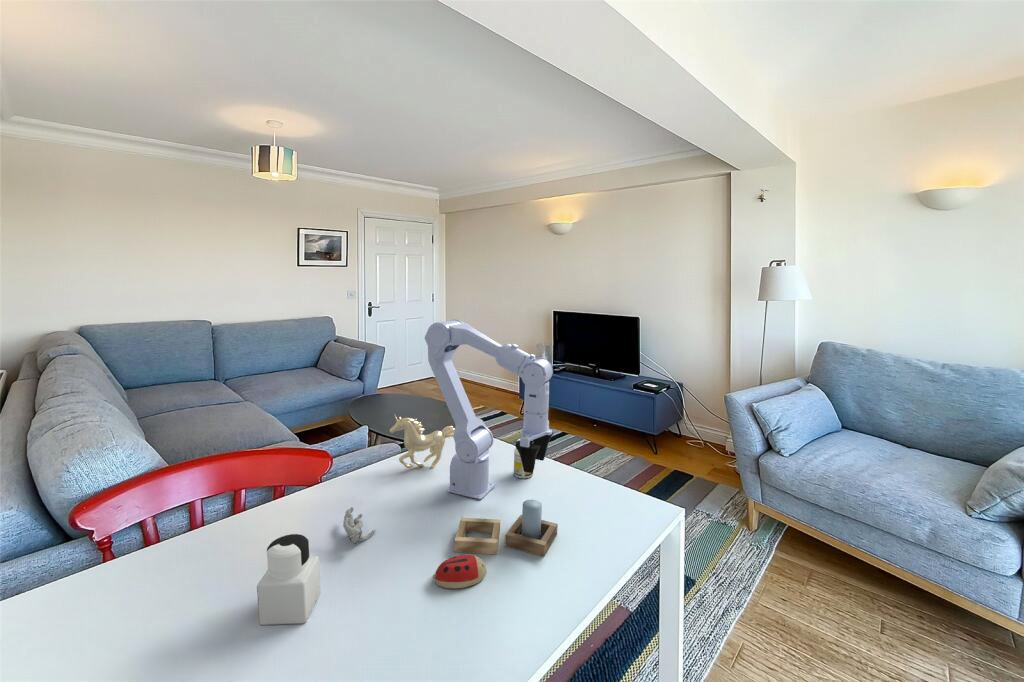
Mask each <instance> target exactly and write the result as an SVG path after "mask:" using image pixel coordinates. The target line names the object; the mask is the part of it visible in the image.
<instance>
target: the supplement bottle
mask: <svg viewBox="0 0 1024 682" xmlns="http://www.w3.org/2000/svg"><path fill="white" fill-rule="evenodd" d="M518 440H520V438H519V439H517V440H516V442H517V441H518ZM513 456H514V457H513V474H514V476H515V477H517V478H519V479H529V478H531V477H533V475H534V472H533V473H528V472H524V470H523V465H522V461H521V457H520V454H519V452H518V450H517V448H516V447H515V448H514V452H513Z"/></svg>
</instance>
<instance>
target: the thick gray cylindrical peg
mask: <svg viewBox="0 0 1024 682" xmlns="http://www.w3.org/2000/svg"><path fill="white" fill-rule="evenodd" d="M542 509H543V504H542V502H540V501H539V500H537V499H526V500H525V501H523V502H522V513H521V515H522V532H521V535H523V536H527V537H530V538H534V539H538V540H541V539H542V538H541V537H542V534H541V520H542V512H543V510H542Z"/></svg>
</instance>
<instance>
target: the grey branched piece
mask: <svg viewBox="0 0 1024 682" xmlns="http://www.w3.org/2000/svg"><path fill="white" fill-rule="evenodd" d="M353 511H354V507H353V506H352V507H350V508H348V509H347V510H346V511H345V515H344V517H343V526H342V527H343V528H344V531H345V532H346V534H347V535H348V538H346V540H347V541H349V542H352V544H353V545H354V547H356V546H357V545H358V544H359V542H365V541H367V540H368V539H370V538H371V537H372V536H373V535H374V534H375V533H376V532H377V529H374V528H373V529H372V530H371V532H369V533H367V534H366V535H364V536H363V531H362V528H363V526H364V522H363V520H361V519H362V518H363V514H362V513H360V514H358V515H357V517H356V518H354V514H352V513H353Z"/></svg>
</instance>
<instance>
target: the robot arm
mask: <svg viewBox="0 0 1024 682" xmlns="http://www.w3.org/2000/svg"><path fill="white" fill-rule="evenodd" d="M424 341H425V342H426V345H427V359H428V364H429V366H430V368H431V370H432V372H433V375H434V377H435V381H436V382H437V384H438V387H439V390H440V391H441V394H442V396H443V398H444V402H445V404H446V406H447V409H448V411H449V413H450V415H451V417H452V420H453V423H454V424H455V427H454V428H455V430H454V434H452V435H453V437H452V438H453V440H454V445H455V446H454V447H455V448H454V449H455V454H454V455H453V457H452V458H451V460H450V465H449V488H448V489H447V491H448V493H451V494H456V495H459V496H463V497H468V498H473V499H476V500H482V499H483V498H485V496H486V495H488V493H489V492H490V491H491V490H493V488H495V484H493V483H489V469H490V468H489V465H490V463H489V462H490V454H489V453H490V448H491V447H492V446H493V444H494V435H493V432H492V431H491V430H490V429H489V428H488V427H487V426H486V424H485V422H484V420H483V419H481V418H480V417H477V416H476V413H475V411H474V409H473V407H472V405H471V402H470V400H469V397H468V396H467V393H466V391H465V388H464V386H463V383H462V381H461V378H460V376H459V374H458V372H457V370H456V367H455V365H454V363H453V357H454V355H455V353H456V350H458V348H459V347H460V346H463V345H464V346H465V345H468V346H469V347H472V348H475V349H476V350H478V351H481V352H483V353H485V354H486V355H488V356H491V357H493V358H494V359H495V361H496V365H497V366H499V367H501V368H503V369H505V370H506V371H508V372H509V373H512V374H514V375H515V376H517V377H519V378H521V380H522V383H524V399H523V400H524V401H523V406H524V407H523V427H522V431H521V432H522V433H521V437H520V438H519V439H520V440H518V439H517V440H518V441H517V440H516V442H515V445H514V446H515V448H517V450H518V452H519V454H520V457H521V461H522V465H523V470H524V472H528V473H533V474H534V470H535V466H536V461H544V460H545V457H546V453H547V450H548V446H549V443H550V440H551V438H552V437H553V435H554V431H553V430H552V429H550V420H549V402H550V381H549V380H551V378H552V377H553V374H554V368H553V365H552V364H551V362H550V361H549V360H547V358H545V357H536V355H535V354H534V353H531V354H529V353H527V352H525V351H524V350H522V349H520V348H519V345H518V344H516V343H512V344H510V343H507V344H504V345H502V344H500V343H499V342H498V341H495V340H493V339H491V337H489V336H487V335H485V334H484V333H482V332H481V331H478V330H477V329H475V328H474V327H473V326H471V325H470V324H469V323H466V322H463V321H462V320H460V319H456V318H455V319H451V320H447V321H442V322H434V323H432V324H430V326H429V327H428V329H427V331H426V334H425V335H424Z"/></svg>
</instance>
